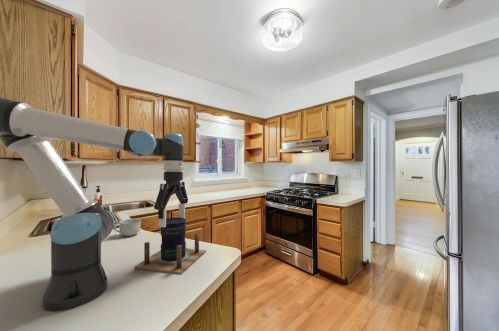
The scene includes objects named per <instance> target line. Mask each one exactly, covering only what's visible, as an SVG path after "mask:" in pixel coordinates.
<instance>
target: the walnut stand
mask: <svg viewBox="0 0 499 331" xmlns="http://www.w3.org/2000/svg"><path fill="white" fill-rule="evenodd" d="M150 244H151V243H150V242H149V241H146V242H144V253H143V254H144V255H143V256H144V260H143V261H141V262H139V263H138V264H136V265H134V270H138V271H149V272H157V273H158V272H159V273H167V274H175V275H183V274H184V273H185V272H186V271H187V270H189V268H190V267H191V266H192V265H193V264H195V263H196V262H197V261H198V260H199V259H200V258H201V257H203V256H204V254H206V253H207V250H206V249H200V234H199V233H197V232H196V233H194V248H187V247H186V251H185V253H186V255H185V257H184V258H182V246H181V245H178V246H177V253H176V261H171V262H167V261H163V260H161V249H159V250H158V251H157V252H155V253H153V254H152V255H151V256H150V249H151V248H150Z"/></svg>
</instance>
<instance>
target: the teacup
mask: <svg viewBox="0 0 499 331" xmlns="http://www.w3.org/2000/svg"><path fill="white" fill-rule="evenodd" d="M119 222H120V224H116V225H115V226H114V227H113V230H114V231H115V232H116V233H119V234H121V235H123V237H133V236H135V235H137V233H139V232H140V231H141V223H142V220H141V219H140V218H126V219H122V220H120V221H119ZM117 227H119V229H117Z"/></svg>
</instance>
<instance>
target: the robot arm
mask: <svg viewBox="0 0 499 331" xmlns="http://www.w3.org/2000/svg"><path fill="white" fill-rule="evenodd" d="M52 140H60V141H65V142H71V143H76V144H82V145H88V146H94V147H99V148H106V149H111V150H116V151H122V152H128V153H130V155H131V156H136V157H160V158H161V157H163V171H164V172H163V180H164V181H165V183H160V184H159V191H158V193H157V197H156V200H155V203H154V206H153V208H154V210H156V211H157V213H158V214H157V218H158V227H159V228H161V227H166V219H167V210H166V207H167V205H168V202H169V201H170V199H171V196H173V195H176V198H177V199H178V201H179V203H178V218H185V219H186V204H188V201H189V197H188V193H187V190H186V187H185V186H186V185H185V181H183V180H184V179H183V177H184V173H183V170H184V137H183V135H182V134H180V133H172V132H170V133H169V132H168V133H165V134H164V136H163V137H155V136H154V134H152V133H151V132H149V131H147V130H135V129H130V128H128V127H127V128H125V127H120V126H116V125H113V124H112V125H111V124H107V123H102V122H98V121H94V120H88V119H85V118H84V119H83V118H79V117H74V116H70V115H65V114H61V113H58V112H57V113H56V112H50V111H46V110H41V109H39V108H38V109H37V108H32V106H31V105H30V104H29V103H26V102H22V101H18V100H14V99H10V98H7V97H5V96H2V95H1V96H0V141H2V143H3V145H4V146H5V147H6V149H7V150H8V151H11V152H14V153H18V154H19V156H20V157H21V159H22V160H23V161H24V162H25V164H26V165H27V166H28V168H29V169H30V170H31V172H32V173H33V175H34V176H35V178H36V179H37V180H38V182H40V184H41V186H42V187H43V189H44V190H45V191H46V193H47V194H48V196H50V198H51V199H52V201H53V202H54V203H55V205H56V206H57V207H58V208H59V210H60V212H62V216H61V218H59V219H57V220H55V221H54V223H53V224H52V226H51V231H50V235H49V237H50V262H51V263H50V268H51V269H50V270H51V271H50V277H49V280H48V283H47V286H46V288H45V291H44V293H43V295H42V300H41V301H42V303H41V304H42V305H41V306H42V308H43V309H44V310H45V309H47V310H46V311H49V310H54V311H53V312H56V311H55V310H60V311H65V310H70V309H73V308H74V309H75V308H77V307H80V306H83V305H85V304H87V303H89V302H91V301H93V300H95V299H97V298H99V297H100V296H101V295H103V294H104V292H106V290H107V289H108V282H109V281H108V280H109V279H108V277H107V274H106V271H105V269H104V267H103V265H102V243H103V242H104V240H105V239H107V238H108V237H109V235H110V234H111V233H112V231H113V230H114V227H113V226H114V223H115V220H114V219H115V218H114V216H113V215H112V213H111V212H109V211H108V210H107V209H104V208H103V207H102V205H101V204H100V202H99V201H98V200H92V199H90V197H89V195H88V194H87V192H86V191H85V190H84V188H83V186H82V185H81V184H80V183H79V182H80V181H78V180H77V177H76V176H75V175H74V174H73V172H72V170H71V169H70V168H69V166H68V165H67V164H66V162H65V161H64V159H63V158H62V156H61V155H60V154H59V152H58V151H57V149H56V148H55V146H54V145H53V144H52Z"/></svg>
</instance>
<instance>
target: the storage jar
mask: <svg viewBox="0 0 499 331" xmlns="http://www.w3.org/2000/svg"><path fill="white" fill-rule="evenodd" d="M186 222H187V221H186V217H185V218H179V217H170V218H169V217H168V218H166V227H160V236H161V244H160V250H161V260H163V261H167V262H171V261H176V253H177V246H178V245H181V246H182V258H184V257H185V255H186V253H185V251H186V248H187V247H186V246H187V243H186V242H187V241H186V233H187V225H186Z"/></svg>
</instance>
